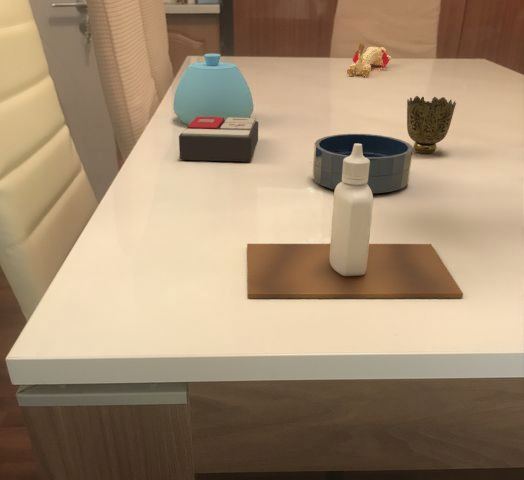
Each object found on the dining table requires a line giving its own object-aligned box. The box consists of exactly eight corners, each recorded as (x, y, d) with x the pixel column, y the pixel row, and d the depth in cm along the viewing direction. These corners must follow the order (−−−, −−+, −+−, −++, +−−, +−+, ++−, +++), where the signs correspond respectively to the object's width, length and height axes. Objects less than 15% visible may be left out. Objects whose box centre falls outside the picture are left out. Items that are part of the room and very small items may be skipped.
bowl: (397, 168, 96) (401, 133, 93) (417, 196, 85) (422, 158, 82) (309, 167, 96) (310, 133, 93) (317, 196, 84) (320, 158, 82)
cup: (446, 147, 107) (454, 96, 103) (449, 159, 101) (458, 105, 96) (400, 145, 108) (407, 94, 104) (401, 156, 102) (407, 103, 97)
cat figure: (375, 83, 167) (394, 62, 186) (378, 46, 162) (397, 28, 180) (338, 80, 170) (361, 60, 188) (340, 44, 165) (363, 27, 183)
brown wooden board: (430, 248, 70) (431, 243, 70) (462, 298, 60) (463, 293, 59) (247, 247, 69) (247, 243, 69) (247, 298, 59) (247, 293, 59)
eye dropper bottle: (374, 259, 66) (388, 139, 60) (362, 281, 61) (375, 154, 55) (333, 252, 67) (342, 135, 61) (318, 273, 63) (326, 149, 56)
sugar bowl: (255, 129, 116) (256, 59, 110) (172, 129, 115) (168, 59, 109) (251, 112, 129) (251, 48, 123) (176, 112, 128) (172, 48, 122)
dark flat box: (258, 116, 108) (251, 132, 95) (258, 142, 110) (250, 162, 97) (194, 114, 109) (177, 130, 96) (195, 140, 111) (179, 159, 98)
